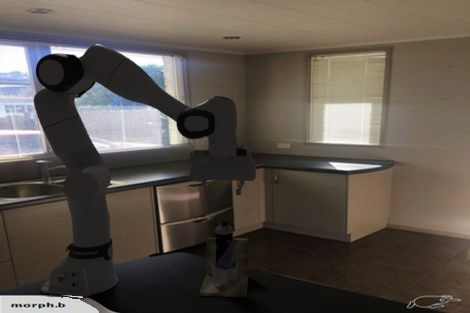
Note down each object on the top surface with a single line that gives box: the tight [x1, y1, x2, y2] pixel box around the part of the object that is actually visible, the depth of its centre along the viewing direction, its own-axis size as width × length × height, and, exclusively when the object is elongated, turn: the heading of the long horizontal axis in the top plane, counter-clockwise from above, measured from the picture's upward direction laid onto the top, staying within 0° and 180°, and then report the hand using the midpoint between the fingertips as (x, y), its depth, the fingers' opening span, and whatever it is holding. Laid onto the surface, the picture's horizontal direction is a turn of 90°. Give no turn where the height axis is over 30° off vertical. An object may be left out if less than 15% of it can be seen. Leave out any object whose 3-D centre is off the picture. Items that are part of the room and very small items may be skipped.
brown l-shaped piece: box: [198, 237, 250, 298], centre depth 111 cm, size 14×14×13 cm
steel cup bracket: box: [212, 260, 238, 289], centre depth 112 cm, size 8×10×6 cm
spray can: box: [214, 219, 234, 269], centre depth 111 cm, size 6×6×20 cm
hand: (223, 194), depth 109 cm, fingers open, 8 cm apart
